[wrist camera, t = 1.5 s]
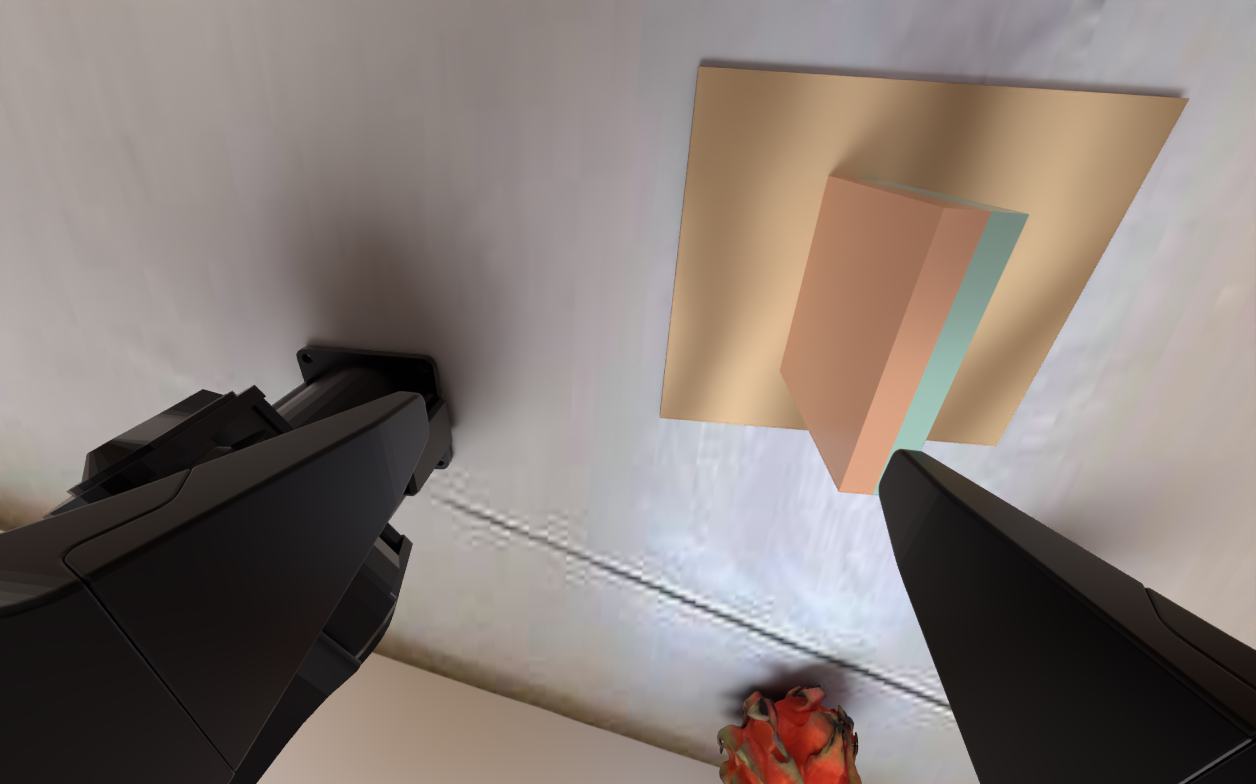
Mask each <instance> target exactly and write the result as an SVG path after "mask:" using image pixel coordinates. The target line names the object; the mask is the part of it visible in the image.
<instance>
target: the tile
mask: <svg viewBox="0 0 1256 784" xmlns="http://www.w3.org/2000/svg"><path fill="white" fill-rule="evenodd" d="M1029 215H1030V214H1027V213H1023V212H1018V211H1014V210H1010V209H1005V208H1001V207H997V206H992V205H988V204H984V203H979V202H975V201H971V200H966V199H962V198H958V197H953V196H949V195H945V194H940V193H936V192H932V191H927V190H923V189H919V188H914V187H910V186H906V185H901V184H897V183H893V182H888V181H884V180H880V179H869V178H855V177H841V176H828V178H827V182H826V186H825V190H824V194H823V198H822V203H821V207H820V211H819V215H818V219H817V223H816V227H815V231H814V235H813V239H812V243H811V247H810V251H809V255H808V259H807V263H806V267H805V271H804V275H803V279H802V283H801V287H800V291H799V295H798V299H797V303H796V307H795V311H794V315H793V319H792V323H791V328H790V332H789V336H788V340H787V344H786V348H785V352H784V356H783V360H782V364H781V368H780V373H781V375H782V377H783V379H784V381H785V383H786V385H787V387H788V389H789V391H790V393H791V395H792V397H793V400H794V402H795V404H796V406H797V408H798V410H799V412H800V414H801V416H802V418H803V420H804V422H805V424H806V426H807V428H808V430H809V432H810V434H811V436H812V438H813V440H814V442H815V444H816V447H817V449H818V451H819V453H820V455H821V457H822V459H823V461H824V463H825V465H826V467H827V469H828V471H829V473H830V475H831V477H832V479H833V481H834V483H835V485H836V487H837V489H838V491H839V492H845V493H857V494H868V495H879V491H878V488H879V483H880V480H881V478H882V475H883V473H884V471H885V469H886V467H887V465H888V463H889V460H890V458H891V456H892V454H893V453H894V452H895V451H896V450H898V449H909V450H918V451H921V449H922V447H923V445H924V443H925V441H926V439H927V436H928V434H929V432H930V430H931V428H932V425H933V423H934V421H935V419H936V417H937V415H938V412H939V410H940V408H941V406H942V404H943V402H944V399H945V397H946V395H947V393H948V391H949V389H950V386H951V384H952V382H953V380H954V378H955V375H956V373H957V371H958V369H959V367H960V365H961V362H962V360H963V358H964V356H965V354H966V352H967V349H968V347H969V345H970V343H971V341H972V338H973V336H974V334H975V332H976V330H977V328H978V325H979V323H980V321H981V319H982V317H983V315H984V312H985V310H986V308H987V306H988V304H989V302H990V299H991V297H992V295H993V293H994V291H995V288H996V286H997V284H998V282H999V280H1000V278H1001V275H1002V273H1003V271H1004V269H1005V267H1006V265H1007V262H1008V260H1009V258H1010V256H1011V254H1012V251H1013V249H1014V247H1015V245H1016V243H1017V241H1018V238H1019V236H1020V234H1021V232H1022V230H1023V228H1024V225H1025V223H1026V221H1027V219H1028V217H1029Z"/></svg>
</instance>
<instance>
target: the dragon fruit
mask: <svg viewBox="0 0 1256 784" xmlns="http://www.w3.org/2000/svg"><path fill="white" fill-rule="evenodd" d="M804 688H805V689H804ZM806 688H807V687H801V686H797V687H795V688H794V689H791V690H789V692H788V693H787V694H786V695H785V696H786V697H785V698H784V699H783V700H780V701H777V702H775V703H774V702H773V700H772V699H771V698H770V699H767V698H764V697H763V696H762V695H761V693H760V692H759V691H755V692H754V693H753V694H752V695H751V696H750V697H749V698H747V699H746V700H745V701H744V705H743V706H742V710H743V712H744V719H743V723H742V727H739V726H735V725H728V726H726V727H724V728H722V729H721V730H720V731H719V732H718V735H717V743H718V744H719V746H720V753H721V754H722V751H723V748H725V749H726V750H727V752H728V755H729V760H728V761H725V762H723V763H722V765H721V767H720V772H719V773H720V778H721V780H722V781H723V783H724V784H862V782H861V779H860V776H859V775H858V773H857V770H856V766H855V758H856V755H857V752H858V737H857V733H856V732H855V736H854V735H853V728H854V722H853V720H852V719H851V718H850V717H849V716H847V714H846V712H845V711H844V710H843V709H842V708H841V707H840V705H838V711H839V712H838V711H837V710H836V709H831V710H829V709H827V708H824V707H822V706H820V703H821V701H822V700H823V699H824V698H825V697H826V693H825V692H824V690H823V688H821V686H820V685H818V686H817V687H814V688H811V687H810V689H806ZM721 740H723V741H724V742H723V743H722V741H721ZM853 744H854V745H853Z"/></svg>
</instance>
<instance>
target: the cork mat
mask: <svg viewBox="0 0 1256 784" xmlns="http://www.w3.org/2000/svg"><path fill="white" fill-rule="evenodd" d="M1188 100H1189V99H1188V98H1173V97H1158V96H1142V95H1127V94H1112V93H1097V92H1081V91H1066V90H1051V89H1036V88H1021V87H1005V86H990V85H975V84H960V83H944V82H929V81H914V80H899V79H883V78H868V77H853V76H838V75H823V74H807V73H792V72H777V71H762V70H746V69H731V68H716V67H701V66H699V67H698V75H697V84H696V93H695V102H694V111H693V120H692V129H691V138H690V147H689V156H688V165H687V174H686V183H685V192H684V201H683V210H682V219H681V228H680V237H679V246H678V255H677V264H676V273H675V282H674V291H673V300H672V309H671V318H670V327H669V336H668V345H667V354H666V363H665V372H664V381H663V390H662V399H661V408H660V418H667V419H679V420H691V421H703V422H715V423H727V424H739V425H751V426H763V427H774V428H786V429H798V430H808V428H807V426H806V424H805V422H804V420H803V418H802V416H801V414H800V412H799V410H798V408H797V406H796V404H795V402H794V400H793V397H792V395H791V393H790V391H789V389H788V387H787V385H786V383H785V381H784V379H783V377H782V375H781V373H780V368H781V364H782V360H783V356H784V352H785V348H786V344H787V340H788V336H789V332H790V328H791V323H792V319H793V315H794V311H795V307H796V303H797V299H798V295H799V291H800V287H801V283H802V279H803V275H804V271H805V267H806V263H807V259H808V255H809V251H810V247H811V243H812V239H813V235H814V231H815V227H816V223H817V219H818V215H819V211H820V207H821V203H822V198H823V194H824V190H825V186H826V182H827V178H828V176H841V177H855V178H869V179H880V180H884V181H888V182H893V183H897V184H901V185H906V186H910V187H914V188H919V189H923V190H927V191H932V192H936V193H940V194H945V195H949V196H953V197H958V198H962V199H966V200H971V201H975V202H979V203H984V204H988V205H992V206H997V207H1001V208H1005V209H1010V210H1014V211H1018V212H1023V213H1027V214H1030V215H1029V217H1028V219H1027V221H1026V223H1025V225H1024V228H1023V230H1022V232H1021V234H1020V236H1019V238H1018V241H1017V243H1016V245H1015V247H1014V249H1013V251H1012V254H1011V256H1010V258H1009V260H1008V262H1007V265H1006V267H1005V269H1004V271H1003V273H1002V275H1001V278H1000V280H999V282H998V284H997V286H996V288H995V291H994V293H993V295H992V297H991V299H990V302H989V304H988V306H987V308H986V310H985V312H984V315H983V317H982V319H981V321H980V323H979V325H978V328H977V330H976V332H975V334H974V336H973V338H972V341H971V343H970V345H969V347H968V349H967V352H966V354H965V356H964V358H963V360H962V362H961V365H960V367H959V369H958V371H957V373H956V375H955V378H954V380H953V382H952V384H951V386H950V389H949V391H948V393H947V395H946V397H945V399H944V402H943V404H942V406H941V408H940V410H939V412H938V415H937V417H936V419H935V421H934V423H933V425H932V428H931V430H930V432H929V434H928V436H927V439H926V440H929V441H941V442H953V443H965V444H976V445H988V446H997V444H998V442H999V440H1000V439H1001V437H1002V435H1003V433H1004V431H1005V430H1006V428H1007V426H1008V424H1009V422H1010V421H1011V419H1012V417H1013V415H1014V413H1015V412H1016V410H1017V408H1018V406H1019V404H1020V403H1021V401H1022V399H1023V397H1024V395H1025V394H1026V392H1027V390H1028V388H1029V386H1030V385H1031V383H1032V381H1033V379H1034V377H1035V376H1036V374H1037V372H1038V370H1039V368H1040V367H1041V365H1042V363H1043V361H1044V359H1045V358H1046V356H1047V354H1048V352H1049V350H1050V349H1051V347H1052V345H1053V343H1054V341H1055V340H1056V338H1057V336H1058V334H1059V332H1060V331H1061V329H1062V327H1063V325H1064V323H1065V322H1066V320H1067V318H1068V316H1069V314H1070V313H1071V311H1072V309H1073V307H1074V305H1075V304H1076V302H1077V300H1078V298H1079V296H1080V295H1081V293H1082V291H1083V289H1084V287H1085V286H1086V284H1087V282H1088V280H1089V278H1090V277H1091V275H1092V273H1093V271H1094V269H1095V268H1096V266H1097V264H1098V262H1099V260H1100V259H1101V257H1102V255H1103V253H1104V251H1105V250H1106V248H1107V246H1108V244H1109V242H1110V241H1111V239H1112V237H1113V235H1114V233H1115V232H1116V230H1117V228H1118V226H1119V224H1120V223H1121V221H1122V219H1123V217H1124V215H1125V214H1126V212H1127V210H1128V208H1129V207H1130V205H1131V203H1132V201H1133V199H1134V198H1135V196H1136V194H1137V192H1138V190H1139V189H1140V187H1141V185H1142V183H1143V181H1144V180H1145V178H1146V176H1147V174H1148V172H1149V171H1150V169H1151V167H1152V165H1153V163H1154V162H1155V160H1156V158H1157V156H1158V154H1159V153H1160V151H1161V149H1162V147H1163V145H1164V144H1165V142H1166V140H1167V138H1168V136H1169V135H1170V133H1171V131H1172V129H1173V127H1174V126H1175V124H1176V122H1177V120H1178V118H1179V117H1180V115H1181V113H1182V111H1183V109H1184V108H1185V106H1186V104H1187V102H1188Z"/></svg>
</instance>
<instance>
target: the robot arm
mask: <svg viewBox="0 0 1256 784" xmlns="http://www.w3.org/2000/svg"><path fill="white" fill-rule="evenodd" d="M308 355H310V356H311V357H312V359H313V360H312V359H310V358H309V356H308ZM297 360H298V363H299V366H300V369H301V372H302V375H303V378H304V383H303V384H301V385H300V386H299V387H297V388H296V389H294V390H293V391H291V392H290V393H289V394H287V395H286V396H284V397H283V398H282V399H280V400H279V401H277V402H276V403H275V404H273V405H272V406H271V405H270V404H269V403H268V402H267V401H266V400H265V399H264V398H265V397H266V396H265V395H264V394H263V393H262V392H261V391H260V390H259V389H258V388H257V387H256V386H255V385H253V386H251V387H250V388H248V389H246V390H244V391H243V392H241V393H239V394H237V395H236V394H235V393H234V392H233V391H231V392H229V393H228V394H225V395H222V394H218V393H215V392H211V391H207V390H204V389H202V390H201V391H199V392H197V393H195V394H194V395H192V396H190V397H188V398H186V399H185V400H183V401H181V402H179V403H178V404H176V405H174V406H172V407H171V408H169V409H167V410H165V411H163V412H162V413H160V414H158V415H156V416H154V417H153V418H151V419H149V420H147V421H145V422H143V423H142V424H140V425H138V426H136V427H134V428H132V429H130V430H129V431H127V432H125V433H123V434H121V435H119V436H117V437H116V438H114V439H112V440H110V441H108V442H107V443H105V444H103V445H101V446H100V447H98V448H96V449H94V450H93V451H91V452H89V453H88V454H87V456H86V461H85V467H84V472H83V477H82V482H80V483H78V484H77V485H75V486H74V487H72V488H71V489H69V490H68V491H67V492H68V493H69V494H71V495H72V496H71V497H70V498H68V499H67V500H65V501H64V502H62V503H61V504H59V505H58V506H56V507H55V508H54V509H52V510H51V511H49V512H48V513H46V514H45V515H43V516H42V517H41V518H43V520H40V521H37V522H34V523H31V524H28V525H25V526H22V527H19V528H15V529H12V530H9V531H6V532H3V533H0V784H256V783H257V782H258V781H259V779H260V778H261V777H262V775H263V774H264V773H265V771H266V770H267V769H268V768H269V766H270V765H271V764H272V762H273V761H274V760H275V758H276V757H277V756H278V755H279V753H280V752H281V751H282V749H283V748H284V747H285V745H286V744H287V743H288V742H289V740H290V739H291V738H292V737H293V735H294V734H295V733H296V732H297V731H298V729H299V728H300V727H301V725H302V724H303V723H304V722H305V721H306V720H307V719H308V718H309V717H310V715H312V714H313V713H314V711H315V710H316V709H317V708H318V707H319V706H320V705H321V704H322V703H323V702H324V701H325V699H326V698H328V696H329V695H331V694H332V693H333V692H334V691H335V690H336V689H337V688H339V687H340V686H341V685H342V684H343V683H344V682H345V681H346V680H348V679H349V678H350V677H351V676H352V675H353V674H354V673H355V672H357V670H358V669H359V668H360V665H361V664H362V663H363V662H364V661H365V660H366V659H367V657H368V656H369V655H370V654H371V653H372V652H373V650H374V649H375V647H376V646H377V645H378V643H379V642H380V640H381V639H382V638H383V636H384V634H385V632H386V630H387V629H388V627H389V625H390V622H391V620H392V617H393V614H394V610H395V607H396V603H397V599H398V596H399V592H400V589H401V585H402V581H403V578H404V574H405V570H406V567H407V563H408V559H409V556H410V552H411V548H412V545H413V543H412V542H411V541H410V540H409V539H408V538H407V537H406V536H405V535H400V534H399V533H398V532H397V531H396V530H395V529H394V528H393V527H392V526H391V525H390V524H389V523H388V521H389V520H390V519H391V517H392V516H393V514H394V513H395V511H396V510H397V509H398V507H399V506H400V504H401V503H402V501H403V500H404V498H405V497H406V496H414V495H416V494H417V493H418V492H419V491H420V489H421V488H422V486H423V485H424V483H425V482H426V480H427V479H428V477H429V476H430V474H431V473H432V471H433V470H434V469H445V468H447V467H448V466H449V464H450V462H451V460H452V457H451V451H450V444H451V443H452V436H451V430H450V423H449V417H448V410H447V404H446V401H445V400H444V398H443V397H442V394H441V388H440V381H439V375H438V369H437V364H436V362H435V361H434V359H433V358H431V357H430V356H427V355H418V354H406V353H393V352H381V351H369V350H357V349H345V348H332V347H320V346H306V347H304V348H302V349H301V350H299V351H298V352H297ZM421 363H422V364H425V365H426V366H427V367H428V370H427V369H424V368H423V367H422V365H421ZM440 459H442V460H443V461H441V460H440ZM878 491H879V498H880V501H881V505H882V509H883V513H884V517H885V521H886V525H887V529H888V533H889V536H890V540H891V544H892V548H893V552H894V556H895V559H896V562H897V566H898V569H899V572H900V575H901V577H902V580H903V583H904V586H905V588H906V591H907V593H908V596H909V599H910V601H911V604H912V607H913V609H914V612H915V614H916V617H917V620H918V622H919V625H920V628H921V630H922V633H923V635H924V638H925V641H926V643H927V646H928V648H929V651H930V654H931V656H932V659H933V662H934V664H935V667H936V669H937V672H938V675H939V677H940V680H941V683H942V685H943V688H944V690H945V693H946V696H947V698H948V701H949V704H950V706H951V709H952V711H953V714H954V717H955V719H956V722H957V725H958V727H959V730H960V732H961V735H962V738H963V740H964V743H965V745H966V748H967V751H968V753H969V756H970V759H971V761H972V764H973V766H974V769H975V772H976V774H977V777H978V780H979V782H980V784H1256V650H1255V649H1253V648H1251V647H1249V646H1248V645H1246V644H1244V643H1242V642H1241V641H1239V640H1237V639H1235V638H1233V637H1232V636H1230V635H1228V634H1227V633H1225V632H1223V631H1221V630H1220V629H1218V628H1216V627H1215V626H1213V625H1211V624H1210V623H1208V622H1206V621H1204V620H1203V619H1201V618H1199V617H1198V616H1196V615H1194V614H1193V613H1191V612H1189V611H1187V610H1186V609H1184V608H1182V607H1181V606H1179V605H1177V604H1176V603H1174V602H1172V601H1171V600H1169V599H1167V598H1166V597H1164V596H1162V595H1161V594H1159V593H1157V592H1156V591H1154V590H1152V589H1151V588H1145V587H1144V585H1143V584H1142V583H1140V582H1139V581H1137V580H1135V579H1134V578H1132V577H1130V576H1129V575H1127V574H1125V573H1124V572H1122V571H1120V570H1119V569H1117V568H1115V567H1114V566H1112V565H1110V564H1109V563H1107V562H1105V561H1104V560H1102V559H1100V558H1099V557H1097V556H1095V555H1094V554H1092V553H1090V552H1089V551H1087V550H1085V549H1084V548H1082V547H1080V546H1079V545H1077V544H1075V543H1074V542H1072V541H1070V540H1069V539H1067V538H1065V537H1064V536H1062V535H1060V534H1059V533H1057V532H1055V531H1054V530H1052V529H1050V528H1049V527H1047V526H1045V525H1044V524H1042V523H1040V522H1039V521H1037V520H1035V519H1034V518H1032V517H1030V516H1029V515H1027V514H1025V513H1024V512H1022V511H1020V510H1019V509H1017V508H1015V507H1014V506H1012V505H1010V504H1009V503H1007V502H1005V501H1004V500H1002V499H1000V498H999V497H997V496H995V495H994V494H992V493H990V492H989V491H987V490H985V489H984V488H982V487H980V486H979V485H977V484H975V483H974V482H972V481H970V480H969V479H967V478H965V477H964V476H962V475H960V474H959V473H957V472H955V471H954V470H952V469H950V468H949V467H947V466H946V465H944V464H942V463H941V462H939V461H937V460H936V459H934V458H932V457H931V456H929V455H927V454H926V453H924V452H922V451H918V450H909V449H898V450H896V451H895V452H894V453H893V454H892V456H891V458H890V460H889V463H888V465H887V467H886V469H885V471H884V473H883V475H882V478H881V480H880V483H879V488H878Z"/></svg>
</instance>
